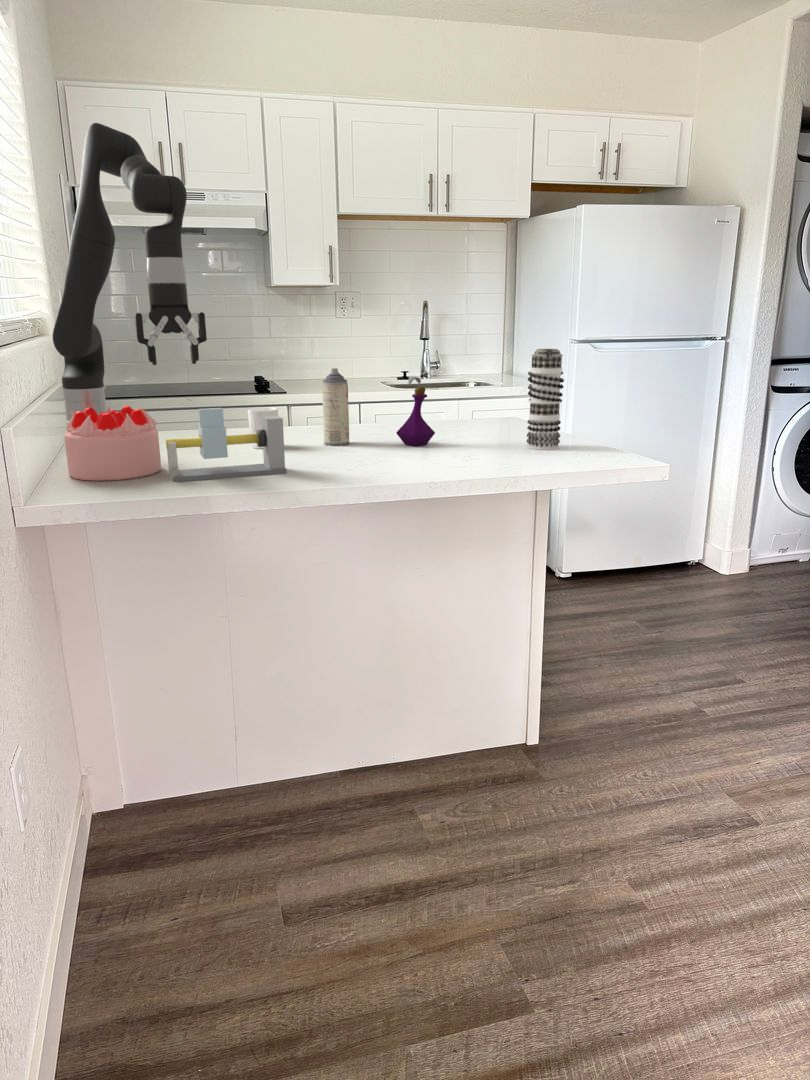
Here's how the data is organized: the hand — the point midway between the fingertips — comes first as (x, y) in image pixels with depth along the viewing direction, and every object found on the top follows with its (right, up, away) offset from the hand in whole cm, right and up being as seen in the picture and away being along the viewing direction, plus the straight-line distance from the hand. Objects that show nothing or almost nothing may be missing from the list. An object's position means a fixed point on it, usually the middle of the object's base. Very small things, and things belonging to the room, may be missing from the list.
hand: (174, 364), depth 165 cm
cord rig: (+9, -22, +10) cm, 26 cm away
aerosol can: (+30, -11, +49) cm, 58 cm away
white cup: (+11, -12, +45) cm, 48 cm away
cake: (-17, -22, +13) cm, 30 cm away
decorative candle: (+84, -13, +42) cm, 95 cm away
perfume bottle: (+51, -12, +47) cm, 70 cm away
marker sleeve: (+6, -18, +8) cm, 21 cm away
